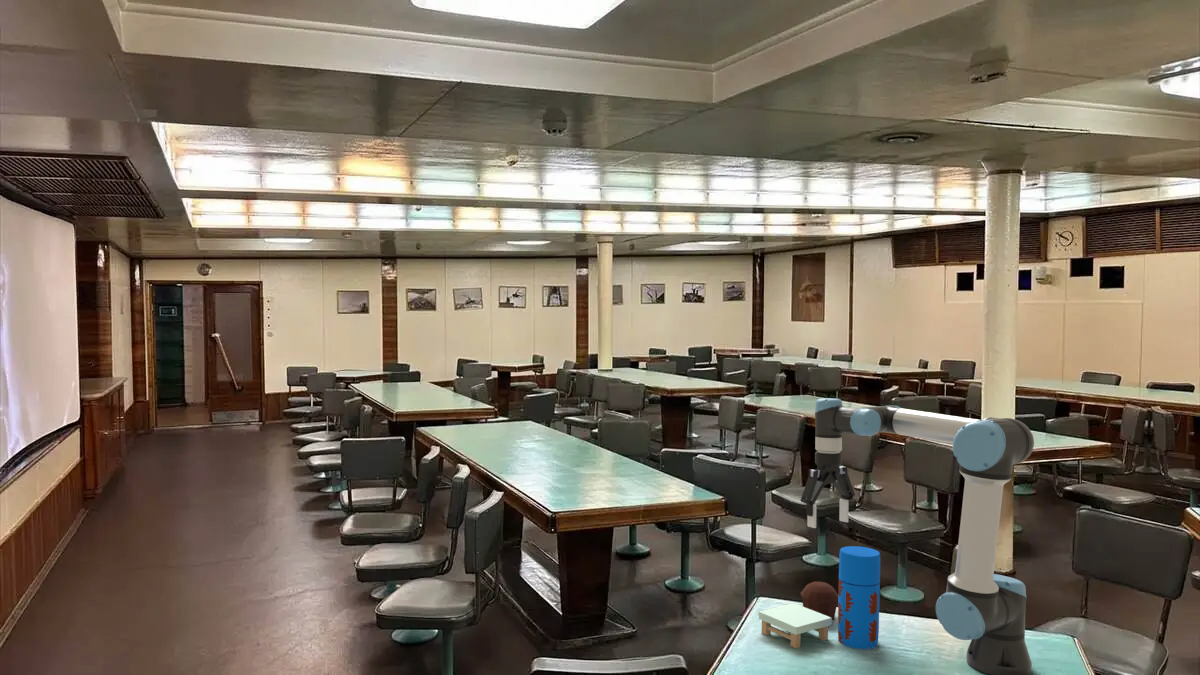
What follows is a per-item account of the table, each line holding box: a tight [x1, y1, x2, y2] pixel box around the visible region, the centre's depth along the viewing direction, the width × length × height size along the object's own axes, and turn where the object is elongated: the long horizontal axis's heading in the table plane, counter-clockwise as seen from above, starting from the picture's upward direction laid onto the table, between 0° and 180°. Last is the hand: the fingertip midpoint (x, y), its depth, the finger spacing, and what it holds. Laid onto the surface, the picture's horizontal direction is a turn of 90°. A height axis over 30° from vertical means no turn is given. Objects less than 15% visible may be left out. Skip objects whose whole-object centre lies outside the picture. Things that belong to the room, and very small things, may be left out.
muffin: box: [799, 581, 839, 621], centre depth 249 cm, size 12×11×10 cm
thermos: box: [837, 545, 881, 650], centre depth 229 cm, size 11×11×25 cm
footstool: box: [758, 602, 833, 649], centre depth 233 cm, size 14×14×6 cm
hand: (828, 524), depth 243 cm, fingers open, 13 cm apart
